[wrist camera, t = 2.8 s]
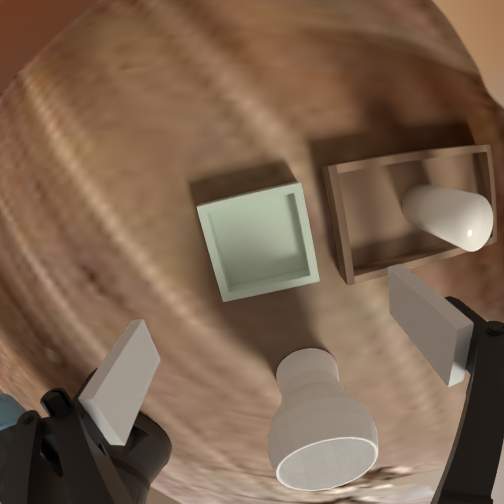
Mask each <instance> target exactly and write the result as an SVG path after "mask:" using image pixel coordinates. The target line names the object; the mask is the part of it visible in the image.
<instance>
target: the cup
mask: <svg viewBox="0 0 504 504" xmlns="http://www.w3.org/2000/svg"><path fill="white" fill-rule="evenodd" d="M276 379H277V383H278V386H279V389H280V392H281V394H282V403H281V405H280V406H279V408H278V409H277V411H276V412H275V414H274V417H273V420H272V423H271V426H270V429H269V433H268V454H269V459H270V462H271V465H272V467H273V470H274V473H275V475H276V477H277V479H278V480H279V481H280V482H281V483H282V484H284V485H286V486H287V487H290V488H293V489H297V490H306V491H313V490H324V489H330V488H334V487H337V486H340V485H343V484H346V483H348V482H350V481H353V480H355V479H356V478H358V477H359V476H361V475H363V474H364V473H365V472H366V471H367V470H369V469H370V468H371V467H372V465H373V464H374V463H375V461H376V459H377V456H378V438H377V430H376V425H375V423H374V420H373V418H372V416H371V413H370V411H369V410H368V409H367V407H366V406H365V405H364V404H363V403H362V402H361V401H360V400H359V399H358V398H357V397H356V396H355V395H354V394H352V393H351V392H349V391H347V390H345V389H344V388H343V387H342V386H341V384H340V383H339V378H338V369H337V365H336V362H335V359H334V358H333V357H332V355H331V354H329V353H328V352H326V351H324V350H321V349H315V348H307V349H301V350H298V351H295V352H293V353H291V354H290V355H288V356H287V357H285V358H284V359H283V360H282V361H281V363H280V364H279V366H278V368H277V372H276Z"/></svg>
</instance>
